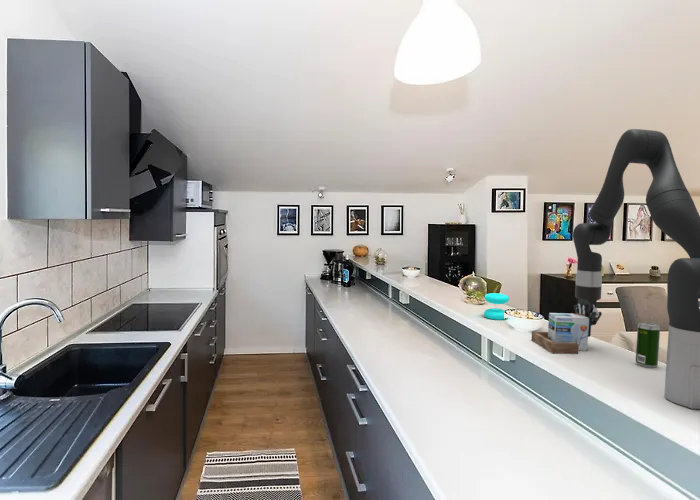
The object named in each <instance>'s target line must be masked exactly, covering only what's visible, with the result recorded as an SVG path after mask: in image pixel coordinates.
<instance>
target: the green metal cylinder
mask: <svg viewBox="0 0 700 500" xmlns="http://www.w3.org/2000/svg"><path fill="white" fill-rule="evenodd" d="M660 328H661V327H660V325H659V324H656V323H652V322H638V325H637V329H636V330H637V333H636V346H635V347H636V348H635V363H636V365H637V366H639V367H644V368H650V369H653V368H657V366H658V363H659V352H660V351H659V350H660V349H659V348H660V338H661V329H660Z"/></svg>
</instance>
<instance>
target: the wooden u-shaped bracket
mask: <svg viewBox="0 0 700 500" xmlns="http://www.w3.org/2000/svg"><path fill="white" fill-rule="evenodd" d="M530 339H531V341H532V342H533V343H535V344H537V345H538V346H540V347H541V348H542V349H543V348H544V349H545V350H547V351H548V352H550V353H551V354H561V355H562V354H563V355H565V354H573V355H574V354H575V355H578V354H579V350H578V348H579V344H577V343H554V342H552V341H550V340H549V339H548V331H531V338H530Z"/></svg>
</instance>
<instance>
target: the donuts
mask: <svg viewBox="0 0 700 500" xmlns="http://www.w3.org/2000/svg"><path fill="white" fill-rule="evenodd" d="M484 300H485V301H486V302H487V303H488V304H494V305H505V304H506V303H508V302H509V301H510V297H509V296H508V295H507V294H505V293H495V292H494V293H493V292H492V293H491V292H490V293H486V294H485V295H484ZM505 311H506V310H505V309H502V308H487V309H486V310H485V311H484V312H483V317H485V318H486V319H489V320H497V321H498V320H499V321H504V320H505V319H504V312H505Z"/></svg>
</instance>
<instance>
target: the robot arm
mask: <svg viewBox="0 0 700 500" xmlns="http://www.w3.org/2000/svg"><path fill="white" fill-rule="evenodd" d="M629 164H639V165H646V166H647V168H648V169H649V171H650V173H651V176H652V181H651V184H650V186H649V187H648V190H647V193H646V195H645V196H646V197H645V203H646V207H647V209H648V213H649V214H650V217H651V219H652V221H653V223H654V225H655V226H656V227H657V228H658V229H659V230H660V231H662V233H664V234H665V235H666V236H667V237H669V238H670V239H672V240H673V241H674V242H675V243H677V245H679V246H680V247H681V248H682V249H683V250H684V251H685V252H686V254H687V255H688V257H682V258H677V259H674V261H672V263H671V264H670V266H669V269H668V272H667V279H666V282H667V285H666V287H667V288H666V289H667V290H666V291H667V293H666V296H667V297H666V299H667V300H666V311H667V315H668V321H669V322H668V336H667V348H666V351H667V352H666V362H665V363H666V364H665V375H664V376H665V379H664V398H665V399H667V401H670V402H671V403H675V404H677V405H680V406H683V407H687V408H689V409H692V410H695V409H696V410H698V409H699V410H700V304H699V300H700V213H699V211H698V209H697V207H696V205H695V201H694V200H693V198H692V196H691V194H690V192H689V190H688V188H687V186H686V184H685V182H684V180H683V178H682V176H681V174H680V171H679V169H678V166H677V163H676V160H675V158H674V154H673V151H672V147H671V145H670V141H669V139H668V137H667V136H666V134H665V133H663V132H662V131H658V130H651V129H642V128H641V129H639V128H630V129H628V130H626V131H625V132H623V133H622V134H621V136H620V138H619V140H618V141H617V143H616V146H615V148H614V151H613V154H612V157H611V159H610V163H609V166H608V169H607V172H606V175H605V178H604V181H603V185H602V187H601V189H600V191H599V193H598V194H597V196H596V198H595V201H594V203H593V205H592V207H591V209H590V211H589V217H590V219H591V220H592V221H593V223H590V222H589V223H588V222H587V223H586V222H585V223H584V222H582V223H578V224H577V225H576V226H574V228H573V231H572V240H573V244H574V248H575V252H576V257H577V266H576V267H577V268H576V269H577V270H576V275H575V285H574V286H575V287H574V288H575V289H574V293H575V294H574V297H575V298H576V299H578V301H577V304H574V305H573V309H574V312H575V314H581V315H583V316H586V317H588V318H589V330H588V338H590V337H591V332H592V326H596V324H597V323H598V321H599V320H600V318H601V317H602V312H601V311H598V304H597V303H598V301H600V300H601V298H602V287H603V286H602V282H603V275H602V267H603V264H602V262H603V257H602V254H601V253H599V252H594V251H592V249H591V247H590V246H601V245H604V244H605V243H607V241H608V240H609V239H610V237H611V233H612V227H613V223H614V221H615V220H614V219H615V218H616V215H617V214H618V213H619V210H620V209H621V207H622V205H623V203H624V200H625V188H624V174H625V171H626V170H627V167H628V166H629ZM594 222H595V223H594Z"/></svg>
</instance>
